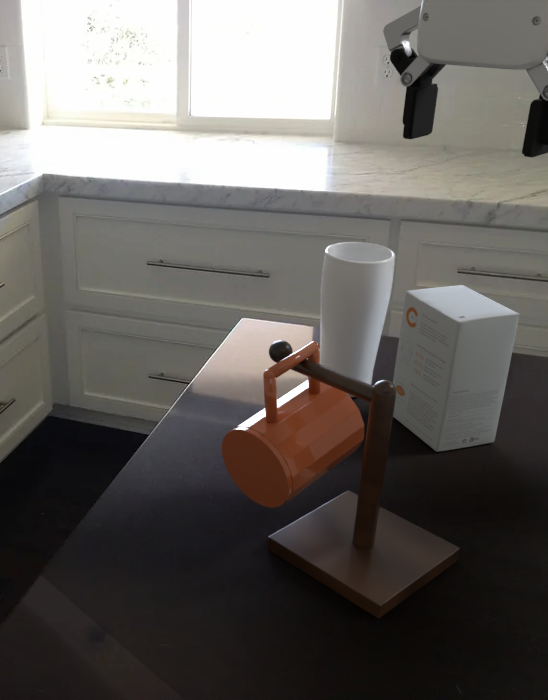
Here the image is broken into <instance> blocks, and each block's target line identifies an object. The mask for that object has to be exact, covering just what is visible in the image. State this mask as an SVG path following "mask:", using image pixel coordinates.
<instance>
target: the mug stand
mask: <svg viewBox="0 0 548 700" xmlns="http://www.w3.org/2000/svg"><path fill="white" fill-rule="evenodd" d="M292 353H294V350H293V347H292V345H291V344H290V343H289V342H288V341H287V340H283V339H278V340H276V341H273V342H272V343H271V345H270V346H269V348H268V356H269V358H270V359H271V360H272V361H273V362H274V363H275V364H276V363H278V362H280V361H281V360H283V359H284V358H286V357H287V356H289V355H291V354H292ZM290 370H292V371H294V372H296V373H298V374H301V375H303V376H306V377H307V378H308V377H310V378H312V379H315V380H317V381H319V382H322V383H324V384H327V385H329V386H331V387H334V388H336V389H338V390H341V391H343V392H346V393H348V394H350V395H353V396H355V397H354V398H358V399H360V400H362V401H365V402H367V403H369V410H368V418H367V425H366V434H365V439H364V440H365V441H364V447H363V448H364V449H363V456H362V463H361V470H360V477H359V485H358V492H357V494H356V493H355V492H353V491H351V490H346V491H345V492H343V493H341V494H340V495H338V496H336V497H335V498H333V499H331V500H329V501H328V502H325V503H324V504H321V506H319V507H317V508H315V509H313V510H312V511H310V512H308V513H307V514H305V515H302V516H301V517H300V518H298V519H296V520H294V521H293V522H291V523H289V524H288V525H286V526H284V527H283V528H281V529H279V530H277V531H276V532H274V533H272V534H270V535H268V537H267V546H266V549H267V550H268V551H269V552H271V553H273V554H274V555H276V556H277V557H279V558H280V559H282V560H283V561H285V562H286V563H289V564H290V565H292V566H293V567H294V568H296V569H298V570H300V571H301V572H303V573H305V574H306V575H307V576H309V577H310V578H312V579H313V580H315V581H317V582H318V583H320V584H322V585H323V586H325V587H327V588H328V589H330V590H332V591H333V592H334V593H336V594H337V595H339V596H341V597H343V598H344V599H346V600H347V601H349V602H350V603H352V604H354V605H356V606H357V607H358V608H360V609H362V610H364V611H365V612H367V614H370V615H371V616H373V618H376V619H381V618H382V617H383V616H385V615H386V614H387V613H389V612H390V611H391V610H392V609H394V608H395V607H397V606H398V605H399V604H401V603H402V602H403V601H405V600H406V599H408V598H409V597H410V596H411V595H413V594H415V593H416V592H417V591H418V590H420V589H422V587H424V586H425V585H427V584H428V583H430V582H431V581H432V580H433V579H435V578H436V577H438V576H439V575H441V574H442V573H443V572H444V571H446V570H447V569H448V568H450V567H452V565H454V564H455V563H456V562H458V561H459V557H460V552H461V548H460V547H459V546H457V545H456V544H453V543H451V542H449V541H447V540H446V539H444V538H442V537H440V536H438V535H437V534H434V533H432V532H430V531H428V530H426V529H424V528H422V527H420V526H419V525H416V524H414V523H412V522H411V521H409V520H407V519H405V518H403V517H401V516H399V515H397V514H395V513H393V512H391V510H390V511H389V510H388V509H385V508H384V507H382V506H381V500H382V494H383V487H384V479H385V472H386V468H387V467H386V466H387V460H388V453H389V447H390V446H389V445H390V438H391V432H392V426H393V420H394V419H393V418H394V417H393V413H394V406H395V399H396V387H395V385H394V384H393V381H390V380H388V379H381V380H378V381H376V382H375V383H374V384H373V385H372V384H371V385H370V384H368V383H365V382H363V381H360V380H358V379H355V378H353V377H350V376H348V375H346V374H343V373H341V372H338V371H336V370H333V369H331V368H328V367H326V366H323V365H321V364H318V363H316V362H313V361H311V360H308V358H307V359H305V360H304V361H302V362H301V363H299V364H298V365H296V366H295V367H293V368H291V369H290Z"/></svg>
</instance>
